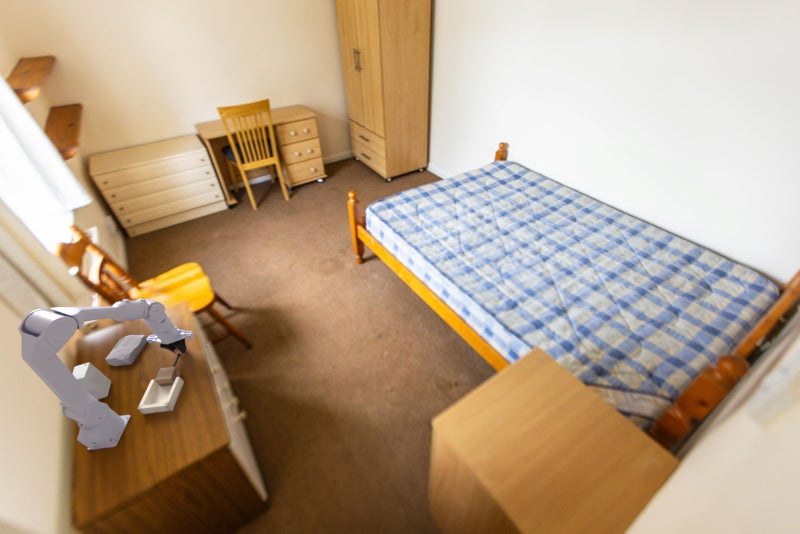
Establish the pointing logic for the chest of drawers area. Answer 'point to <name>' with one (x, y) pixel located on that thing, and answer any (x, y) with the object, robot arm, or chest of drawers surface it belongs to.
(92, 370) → the skincare box
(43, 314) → the robot arm
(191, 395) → the chest of drawers surface
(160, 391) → the tray
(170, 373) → the corded block
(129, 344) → the stone block
